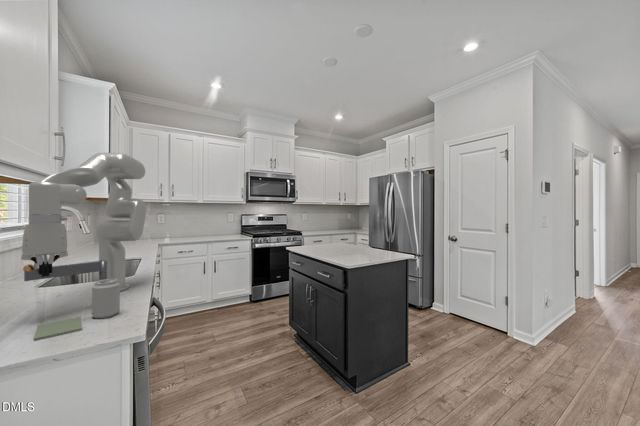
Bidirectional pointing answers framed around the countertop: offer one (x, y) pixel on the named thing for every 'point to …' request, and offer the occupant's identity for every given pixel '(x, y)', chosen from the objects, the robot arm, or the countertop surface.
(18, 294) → the countertop surface
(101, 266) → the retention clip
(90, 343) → the countertop surface
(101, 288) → the can
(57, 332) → the mat
